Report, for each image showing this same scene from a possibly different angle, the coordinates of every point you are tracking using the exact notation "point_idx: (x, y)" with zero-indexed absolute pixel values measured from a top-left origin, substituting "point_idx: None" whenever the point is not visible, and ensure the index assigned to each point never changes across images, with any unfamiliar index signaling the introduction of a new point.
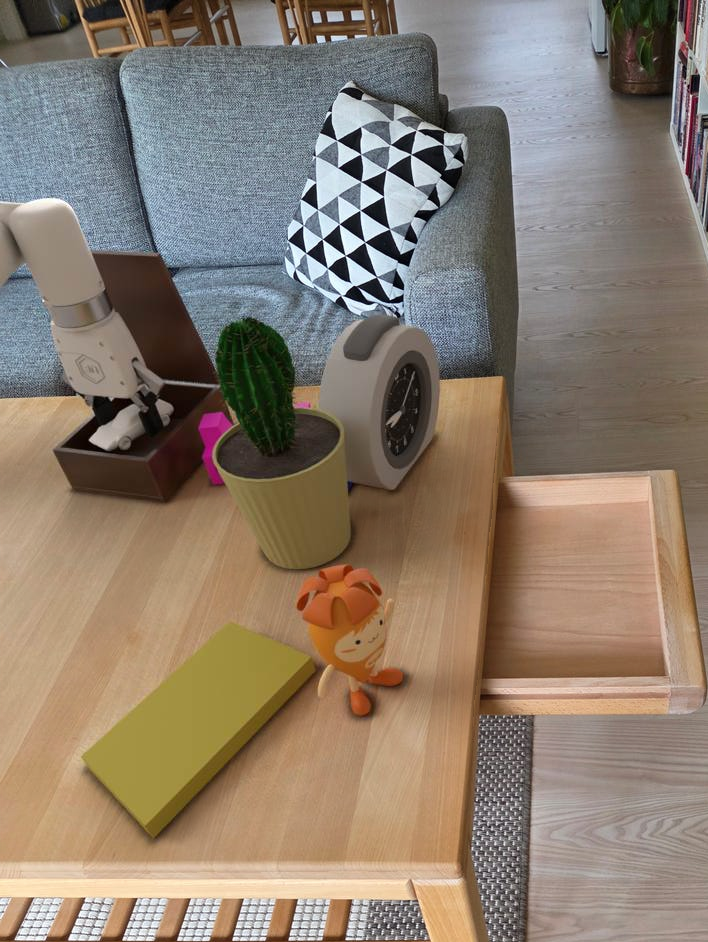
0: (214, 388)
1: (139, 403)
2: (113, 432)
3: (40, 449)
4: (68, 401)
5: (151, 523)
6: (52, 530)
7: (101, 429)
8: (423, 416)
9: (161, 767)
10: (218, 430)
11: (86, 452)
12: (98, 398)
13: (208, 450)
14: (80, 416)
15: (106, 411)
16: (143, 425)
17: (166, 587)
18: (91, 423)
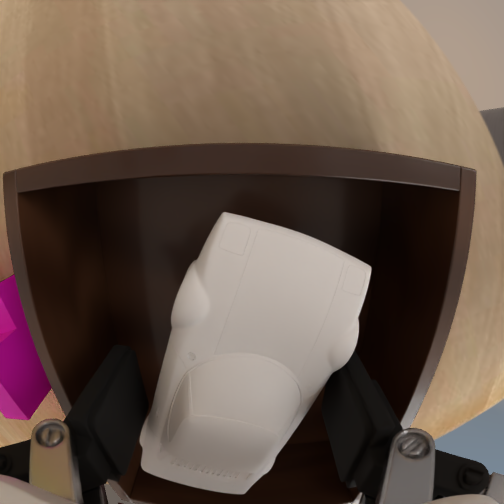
0: (125, 497)
1: (45, 455)
2: (242, 326)
3: (500, 298)
4: (479, 408)
5: (86, 91)
6: (330, 15)
7: (332, 338)
8: None
9: None
10: None
11: (320, 159)
12: (372, 478)
13: (4, 315)
14: (460, 394)
15: (343, 430)
16: (108, 376)
17: (17, 3)
18: (414, 371)
